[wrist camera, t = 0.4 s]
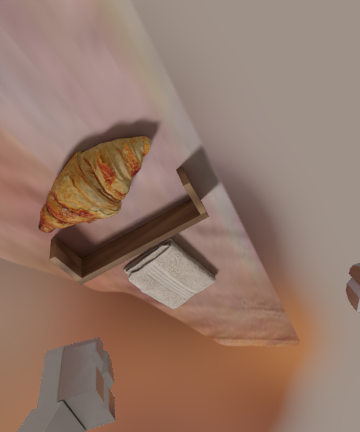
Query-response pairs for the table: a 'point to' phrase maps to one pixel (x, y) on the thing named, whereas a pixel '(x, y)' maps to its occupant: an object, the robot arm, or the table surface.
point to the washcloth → (169, 274)
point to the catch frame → (130, 239)
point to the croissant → (93, 183)
